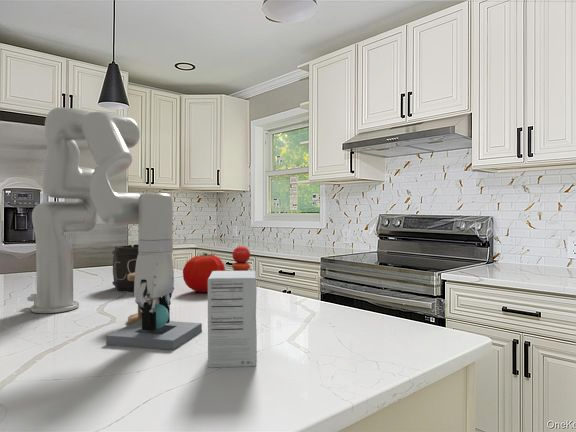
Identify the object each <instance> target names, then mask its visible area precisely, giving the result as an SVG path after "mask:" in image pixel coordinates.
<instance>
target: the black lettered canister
mask: <svg viewBox="0 0 576 432" xmlns="http://www.w3.org/2000/svg"><path fill="white" fill-rule="evenodd" d="M138 252H139V251H138V244H132V245H131V244H124V245H117V246H115V247H114V250H112V253H111V254H113V258H112V278H113V281H112V286H114V287H115V290H116V289H117V291H118V292H124V291H126V293H127V292H128V293H134V281H129V280H128V274H130V273H135V268H136V261H137V256H138V255H139V254H138Z"/></svg>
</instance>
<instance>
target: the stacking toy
mask: <svg viewBox="0 0 576 432" xmlns="http://www.w3.org/2000/svg"><path fill="white" fill-rule="evenodd" d="M250 257H251V252H250V250H249V248H248V247H246V246H243V245H239V246H236V247H235V248H234V249H233V250H232V259H233V261H234V262H233V263H232V264H231V265H232V269H233V270H232V271H250V267H251V265H250V263H248V261H249V260H250Z"/></svg>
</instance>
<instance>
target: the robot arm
mask: <svg viewBox="0 0 576 432" xmlns="http://www.w3.org/2000/svg"><path fill="white" fill-rule="evenodd" d="M140 133H141V132H140V128H139V126H138V124H137V122H136V121H135V120H134V119H133V118H131V117H129V116H126V115H121V114H115V113H111V112H106V111H105V112H104V111H93V112H92V111H88V110H83V109H77V108H71V107H63V106H62V107H55V108H53V109H51V110H49V111H48V114H46V117H45V121H44V135H45V140H46V155H45V161H44V162H45V163H44V168H43V169H44V170H43V178H42V190H43V194H45V195H46V196H48V197H50V198H54V199H71V200H72V199H74V200H75V199H76V200H78V201H53V200H52V201H46V202H45V201H44V202H41V203H38V204H37V205H35V207H34V208H33V210H32V212H31V221H32V226H33V231H34V237H35V253H36V254H35V255H36V256H35V257H36V261H35V262H36V263H35V264H36V293H31V294H30V295H29V296H28V297H27V301H28V302H33V305H32V306H30V312H32V313H36V314H54V313H63V312H68V311H72V310H75V309H78V308H79V307H80V302H78V301H77V300H74V250H73V245H72V244H71V242H70V240H69V239H68V238H67V236H65V235H66V234H67V235H68V234H82V233H84V234H85V233H89V232H90V231H92V230H94V228H95V226H96V223H97V220H98V217H99V218H100V220H101V221H102V222H104V223H105V224H108V225H112V226H118V225H119V226H121V225H138V227H137V228H138V230H137V231H138V237H137V238H138V241H137V242H138V251H139V252H138V254H139V255H138V256H137V261H136V268H135V281H134V292H133V295H134V298H135V300H134V301H135V303H136V304H137V306H138V305H139V307H140V311H141V312H142V329H143V330H151V331H154V330H156V312H154V309H155V302H156V299H157V302H158V304H161V305H163V306H165V307H166V308H167V310H168V312H169V319H168V321H167V323H169V322H170V321H171V319H170V317H171V316H170V314H171V313H170V306H171V304H172V303H171V302H172V301H171V299H172V296H173V295H172V294H173V292H174V290H175V287H174V286H175V279H174V278H175V277H174V276H175V275H174V272H175V271H174V259H173V253H174V249H173V248H174V246H173V244H174V242H173V241H174V239H173V237H174V230H173V228H174V227H173V224H174V221H173V220H174V219H173V215H174V214H173V212H174V211H173V209H174V208H173V206H174V205H173V203H174V202H173V198H172V195H170V194H169V193H164V192H163V193H162V192H160V193H158V192H148V193H147V192H146V193H144V192H125V191H123V192H122V191H119V192H118V191H114V190H113V188H112V185H111V183H110V180H109V178H113V177H115V176H117V175H120V174H121V173H123V172H125V171H126V170H128V168H130V166H131V165H132V162H133V156H132V154H131V152H130V150H129V149H131V148H134V147H135V146H137V144H138V143H139V140H140V136H141V134H140ZM77 142H83V143H87V145H88V147H89V150H90V152H91V154H92V156H93V159H94V161H95V164H96V167H95V168H91V167H83V166H82V167H81V166H80V159H81V151H80V148H79V146H78V144H77ZM148 295H150V298H147V296H148ZM147 301H151V303H150V305H149V303H148V302H147Z"/></svg>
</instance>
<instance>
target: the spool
mask: <svg viewBox="0 0 576 432" xmlns="http://www.w3.org/2000/svg"><path fill="white" fill-rule="evenodd" d="M128 280H129V281H135V273H130V274H128ZM147 298H150V295H148V296H147ZM147 302H148V303H149V305H150V303H151V301H147ZM155 304H158V302H157V299H156V302H155ZM140 320H142V312H141V311H140V307H139V305H138V304H137V312H136V313H133V314H131V315H129V316H127V324H128V325H131V324H133V323H135V322H137V321H140Z"/></svg>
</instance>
